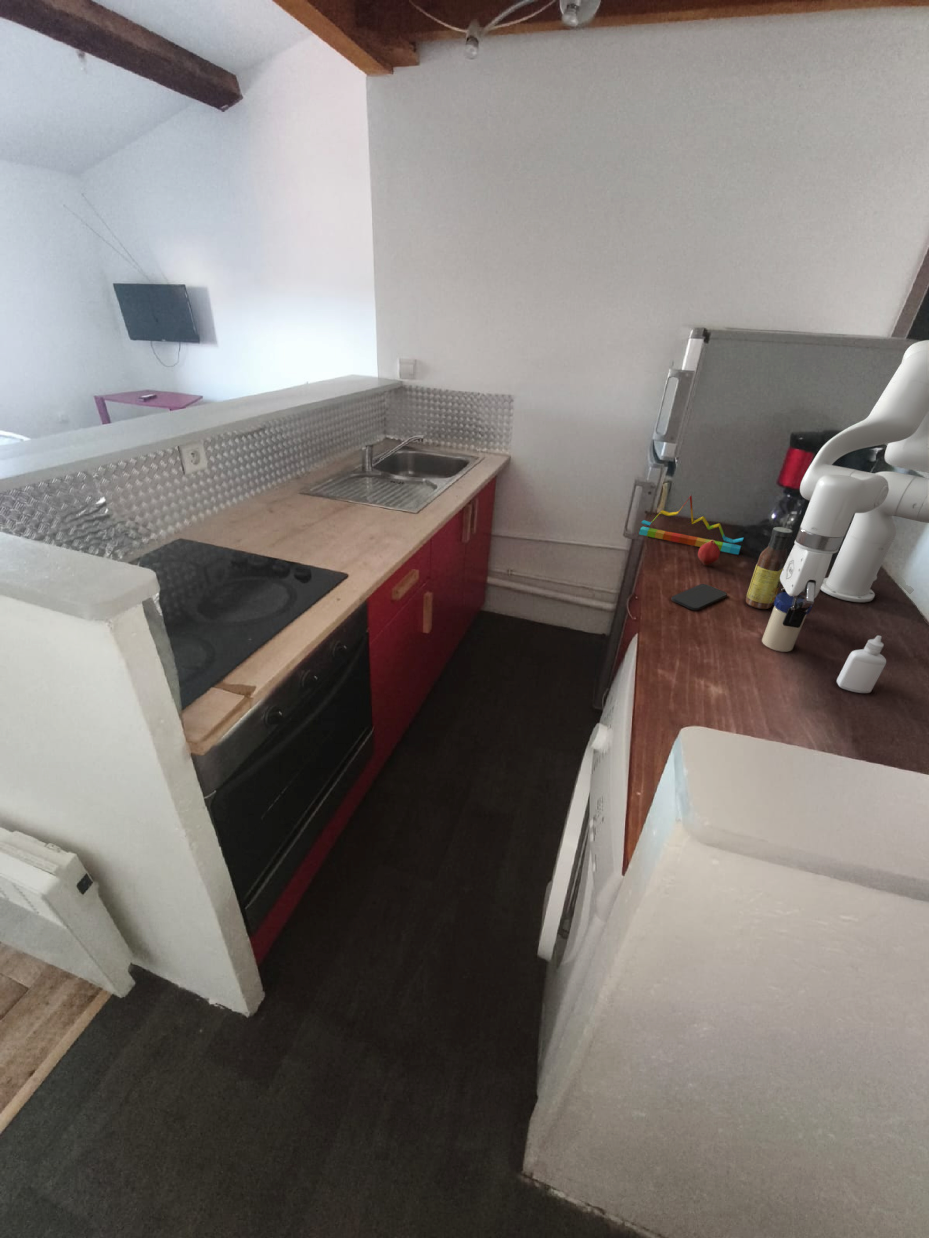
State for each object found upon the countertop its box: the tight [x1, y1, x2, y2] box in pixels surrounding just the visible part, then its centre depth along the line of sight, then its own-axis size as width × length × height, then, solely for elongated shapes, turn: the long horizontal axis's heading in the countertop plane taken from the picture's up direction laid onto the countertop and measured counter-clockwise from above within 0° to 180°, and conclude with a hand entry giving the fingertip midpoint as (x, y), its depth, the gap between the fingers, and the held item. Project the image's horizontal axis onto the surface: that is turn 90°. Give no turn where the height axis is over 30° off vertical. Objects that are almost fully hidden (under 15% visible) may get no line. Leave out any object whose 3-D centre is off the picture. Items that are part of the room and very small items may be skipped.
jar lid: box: [773, 592, 814, 616], centre depth 108 cm, size 7×7×2 cm
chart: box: [638, 495, 745, 555], centre depth 161 cm, size 30×3×15 cm, turn 60°
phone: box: [671, 583, 728, 611], centre depth 131 cm, size 7×1×15 cm
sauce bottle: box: [745, 526, 793, 610], centre depth 124 cm, size 6×6×20 cm
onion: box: [697, 539, 721, 566], centre depth 148 cm, size 6×6×8 cm
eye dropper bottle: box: [836, 635, 887, 694], centre depth 97 cm, size 4×6×12 cm
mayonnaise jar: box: [761, 606, 808, 653], centre depth 111 cm, size 6×6×11 cm
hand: (786, 617), depth 110 cm, fingers closed on jar lid, 6 cm apart
